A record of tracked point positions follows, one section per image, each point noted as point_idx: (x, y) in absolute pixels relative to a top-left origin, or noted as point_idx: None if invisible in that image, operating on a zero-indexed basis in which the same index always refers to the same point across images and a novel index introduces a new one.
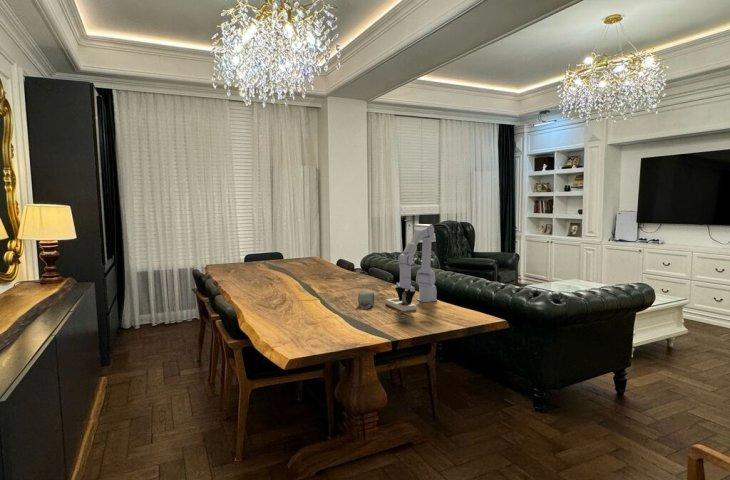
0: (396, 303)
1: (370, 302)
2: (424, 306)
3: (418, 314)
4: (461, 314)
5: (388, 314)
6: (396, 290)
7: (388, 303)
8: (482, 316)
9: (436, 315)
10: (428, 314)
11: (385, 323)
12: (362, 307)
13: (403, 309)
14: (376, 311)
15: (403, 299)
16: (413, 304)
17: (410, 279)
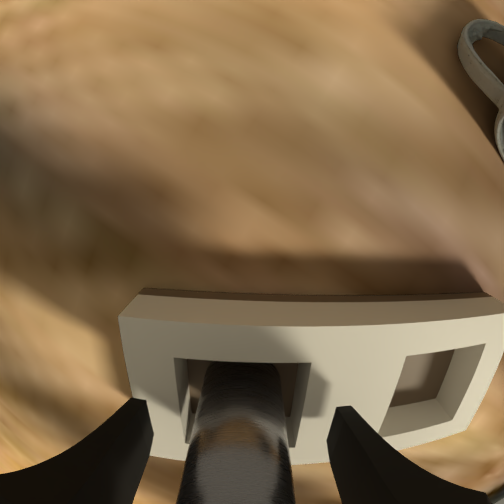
0: (331, 341)
1: None
2: None
3: (58, 361)
4: None
5: (160, 97)
6: (449, 492)
7: (463, 303)
8: None
9: (30, 419)
10: (51, 407)
11: (5, 13)
12: (471, 24)
13: (131, 306)
14: (344, 50)
15: (216, 435)
16: (182, 454)
17: None
